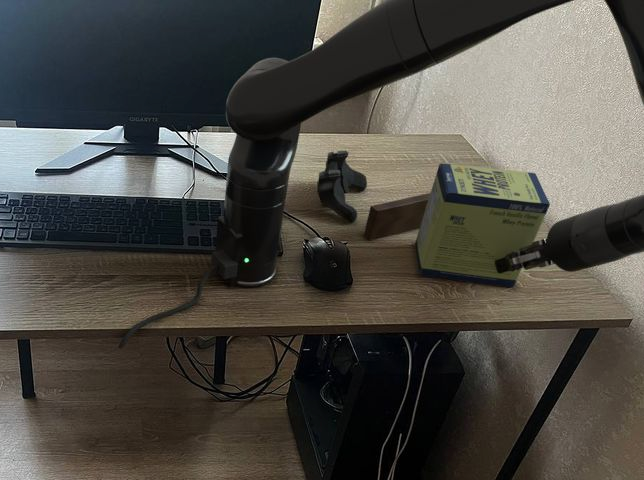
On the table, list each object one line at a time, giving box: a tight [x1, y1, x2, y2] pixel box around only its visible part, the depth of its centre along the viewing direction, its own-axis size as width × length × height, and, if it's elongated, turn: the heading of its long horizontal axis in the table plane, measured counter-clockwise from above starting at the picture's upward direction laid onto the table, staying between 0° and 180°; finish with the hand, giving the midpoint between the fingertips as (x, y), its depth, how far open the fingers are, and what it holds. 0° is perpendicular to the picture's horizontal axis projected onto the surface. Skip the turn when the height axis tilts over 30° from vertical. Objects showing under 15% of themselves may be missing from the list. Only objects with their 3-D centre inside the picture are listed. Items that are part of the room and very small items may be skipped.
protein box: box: [414, 163, 551, 288], centre depth 113 cm, size 10×16×16 cm
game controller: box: [316, 150, 368, 224], centre depth 131 cm, size 16×7×10 cm, turn 161°
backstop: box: [363, 192, 431, 241], centre depth 125 cm, size 20×2×6 cm, turn 115°
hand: (499, 266), depth 111 cm, fingers closed
